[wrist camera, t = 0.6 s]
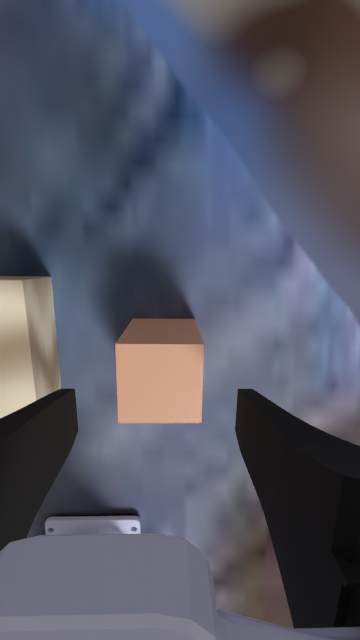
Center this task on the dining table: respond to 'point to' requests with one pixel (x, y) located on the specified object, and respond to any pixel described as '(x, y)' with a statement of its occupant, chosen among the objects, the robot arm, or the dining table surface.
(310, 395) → the dining table surface
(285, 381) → the dining table surface
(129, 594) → the robot arm
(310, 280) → the dining table surface
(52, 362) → the birch base
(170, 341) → the terracotta block
